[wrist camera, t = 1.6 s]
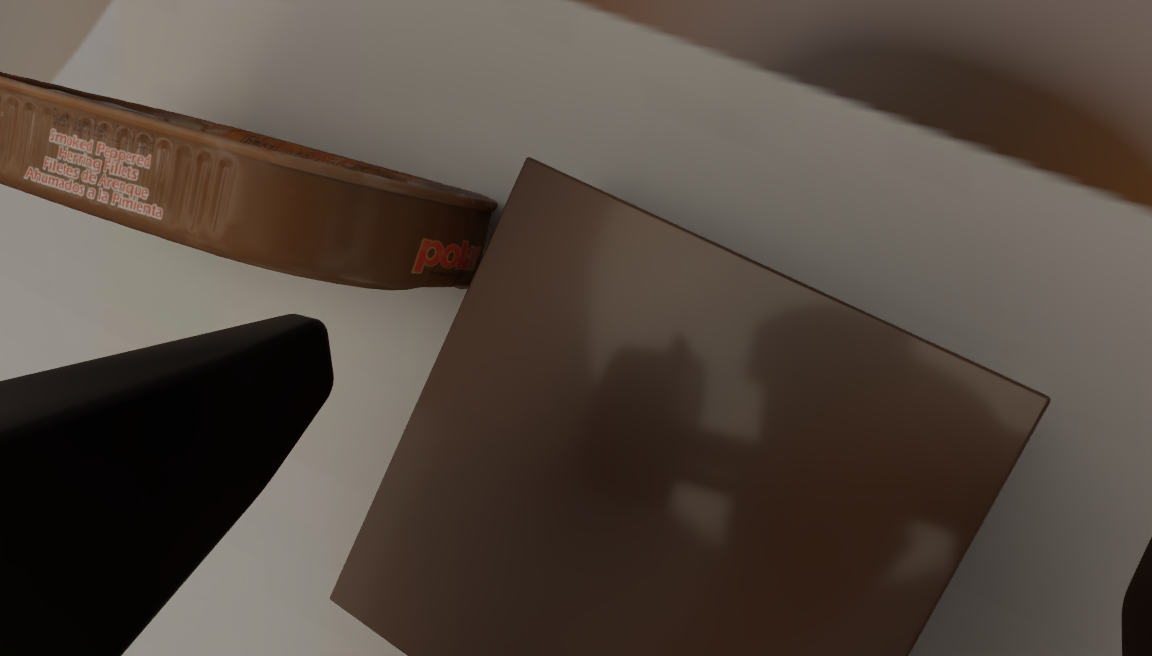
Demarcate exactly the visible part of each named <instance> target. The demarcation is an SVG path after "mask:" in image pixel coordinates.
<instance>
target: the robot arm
mask: <svg viewBox="0 0 1152 656" xmlns="http://www.w3.org/2000/svg"><path fill="white" fill-rule="evenodd" d="M333 379H334V377H333V368H332V361H331V353H330V346H329V339H328V332H327V329H326V327H325V325H324V324H323V323H322V322H321V321H320V320H318V319H314V318H309V317H305V316H301V315H297V314H288V315H283V316H279V317H275V318H270V319H266V320H262V321H258V322H253V323H249V324H245V325H240V326H236V327H232V328H227V329H223V330H219V331H215V332H210V333H206V334H202V335H197V336H193V337H189V338H184V339H180V340H176V341H171V342H167V343H163V344H159V345H154V346H150V347H146V348H141V349H137V350H133V351H128V352H124V353H120V354H116V355H111V356H107V357H103V358H98V359H94V360H90V361H85V362H81V363H77V364H72V365H68V366H64V367H60V368H55V369H51V370H47V371H42V372H38V373H34V374H29V375H25V376H21V377H17V378H12V379H8V380H4V381H0V656H121V655H122V654H123V653H124V652H125V651H126V649H127V648H128V647H129V646H130V645H131V644H132V642H133V641H134V640H135V639H136V638H137V637H138V635H139V634H140V633H141V632H142V631H143V630H144V629H145V627H146V626H147V625H148V624H149V623H150V622H151V620H152V619H153V618H154V617H155V616H156V615H157V613H158V612H159V611H160V610H161V609H162V608H163V606H164V605H165V604H166V603H167V602H168V601H169V599H170V598H171V597H172V596H173V595H174V594H175V592H176V591H177V590H178V589H179V588H180V587H181V585H182V584H183V583H184V582H185V581H186V580H187V578H188V577H189V576H190V575H191V574H192V573H193V571H194V570H195V569H196V568H197V567H198V566H199V564H200V563H201V562H202V561H203V560H204V559H205V557H206V556H207V555H208V554H209V553H210V552H211V550H212V549H213V548H214V547H215V546H216V545H217V543H218V542H219V541H220V540H221V539H222V538H223V537H224V535H225V534H226V533H227V532H228V531H229V530H230V528H231V527H232V526H233V525H234V524H235V523H236V521H237V520H238V519H239V518H240V517H241V516H242V514H243V513H244V512H245V511H246V510H247V509H248V507H249V506H250V505H251V504H252V503H253V501H254V500H255V499H256V498H257V497H258V495H259V494H260V493H261V492H262V490H263V489H264V488H265V487H266V485H267V484H268V482H269V481H270V480H271V478H272V477H273V476H274V474H275V473H276V472H277V470H278V469H279V467H280V466H281V464H282V463H283V462H284V460H285V459H286V457H287V456H288V454H289V453H290V451H291V450H292V449H293V447H294V446H295V444H296V443H297V441H298V440H299V439H300V437H301V436H302V434H303V433H304V431H305V430H306V429H307V427H308V426H309V424H310V423H311V421H312V420H313V418H314V417H315V416H316V414H317V413H318V411H319V410H320V408H321V407H322V406H323V404H324V403H325V401H326V400H327V398H328V397H329V395H330V392H331V390H332V386H333ZM1122 656H1152V538H1151V539H1150V541H1149V544H1148V546H1147V548H1146V550H1145V552H1144V554H1143V556H1142V558H1141V561H1140V563H1139V565H1138V567H1137V569H1136V571H1135V573H1134V576H1133V578H1132V580H1131V582H1130V584H1129V586H1128V589H1127V591H1126V594H1125V597H1124V602H1123V607H1122Z"/></svg>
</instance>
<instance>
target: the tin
mask: <svg viewBox="0 0 1152 656" xmlns="http://www.w3.org/2000/svg"><path fill="white" fill-rule="evenodd" d="M0 184H3V185H6V186H9V187H12V188H15V189H18V190H21V191H23V192H26V193H29V194H32V195H35V196H38V197H41V198H43V199H46V200H49V201H52V202H54V203H58V204H61V205H64V206H67V207H69V208H72V209H75V210H78V211H81V212H84V213H87V214H90V215H93V216H96V217H99V218H102V219H105V220H109V221H112V222H115V223H118V224H120V225H123V226H126V227H129V228H132V229H135V230H139V231H142V232H145V233H148V234H152V235H155V236H158V237H161V238H163V239H166V240H169V241H173V242H176V243H179V244H183V245H186V246H189V247H192V248H195V249H199V250H202V251H205V252H208V253H211V254H214V255H217V256H220V257H224V258H228V259H231V260H235V261H238V262H242V263H246V264H249V265H253V266H257V267H261V268H265V269H269V270H273V271H277V272H282V273H286V274H290V275H294V276H299V277H304V278H310V279H315V280H320V281H325V282H331V283H336V284H342V285H349V286H356V287H362V288H371V289H382V290H408V289H413V288H418V287H455V288H459V289H467V288H469V285H470V283H471V281H472V279H473V276H474V274H475V272H476V270H477V267H478V265H479V263H480V259H481V255H482V251H483V247H484V243H485V239H486V235H487V230H488V226H489V222H490V218H491V215H492V212H493V211H495V210H496V209H497V207H498V203H497V202H496V201H494V200H492V199H490V198H488V197H486V196H483V195H481V194H478V193H475V192H471V191H467V190H463V189H460V188H457V187H453V186H447V185H443V184H441V183H437V182H433V181H430V180H427V179H424V178H420V177H416V176H412V175H409V174H405V173H401V172H398V171H394V170H390V169H387V168H383V167H379V166H375V165H371V164H368V163H364V162H360V161H356V160H353V159H349V158H346V157H342V156H338V155H334V154H330V153H327V152H323V151H320V150H316V149H312V148H308V147H305V146H301V145H298V144H294V143H290V142H287V141H283V140H279V139H276V138H272V137H268V136H264V135H260V134H256V133H253V132H249V131H245V130H241V129H238V128H234V127H229V126H225V125H221V124H216V123H213V122H209V121H206V120H202V119H198V118H194V117H190V116H186V115H182V114H178V113H174V112H169V111H165V110H161V109H156V108H152V107H148V106H144V105H140V104H136V103H130V102H126V101H122V100H118V99H114V98H110V97H105V96H100V95H95V94H91V93H86V92H82V91H78V90H74V89H71V88H67V87H63V86H59V85H55V84H50V83H45V82H40V81H37V80H33V79H29V78H24V77H19V76H15V75H10V74H6V73H2V72H0Z"/></svg>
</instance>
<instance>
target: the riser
mask: <svg viewBox="0 0 1152 656" xmlns="http://www.w3.org/2000/svg"><path fill="white" fill-rule="evenodd" d="M1049 403H1050V398H1049V397H1048V396H1046V395H1044V394H1042V393H1040V392H1038V391H1036V390H1033V389H1031V388H1029V387H1027V386H1025V385H1023V384H1020V383H1018V382H1016V381H1014V380H1012V379H1010V378H1007V377H1005V376H1003V375H1001V374H999V373H997V372H994V371H992V370H990V369H988V368H986V367H984V366H981V365H979V364H977V363H975V362H973V361H971V360H968V359H966V358H964V357H962V356H960V355H958V354H955V353H953V352H951V351H949V350H947V349H945V348H942V347H940V346H938V345H936V344H934V343H931V342H929V341H927V340H925V339H923V338H921V337H918V336H916V335H914V334H912V333H910V332H908V331H905V330H903V329H901V328H899V327H897V326H895V325H892V324H890V323H888V322H886V321H884V320H882V319H879V318H877V317H875V316H873V315H871V314H869V313H866V312H864V311H862V310H860V309H858V308H856V307H853V306H851V305H849V304H847V303H845V302H843V301H840V300H838V299H836V298H834V297H832V296H830V295H827V294H825V293H823V292H821V291H819V290H816V289H814V288H812V287H810V286H808V285H806V284H803V283H801V282H799V281H797V280H795V279H793V278H790V277H788V276H786V275H784V274H782V273H780V272H777V271H775V270H773V269H771V268H769V267H767V266H764V265H762V264H760V263H758V262H756V261H754V260H751V259H749V258H747V257H745V256H743V255H741V254H738V253H736V252H734V251H732V250H730V249H728V248H725V247H723V246H721V245H719V244H717V243H715V242H712V241H710V240H708V239H706V238H704V237H701V236H699V235H697V234H695V233H693V232H691V231H688V230H686V229H684V228H682V227H680V226H678V225H675V224H673V223H671V222H669V221H667V220H665V219H662V218H660V217H658V216H656V215H654V214H652V213H649V212H647V211H645V210H643V209H641V208H639V207H636V206H634V205H632V204H630V203H628V202H626V201H623V200H621V199H619V198H617V197H615V196H613V195H610V194H608V193H606V192H604V191H602V190H600V189H597V188H595V187H593V186H591V185H589V184H587V183H584V182H582V181H580V180H578V179H576V178H573V177H571V176H569V175H567V174H565V173H563V172H560V171H558V170H556V169H554V168H552V167H550V166H547V165H545V164H543V163H541V162H539V161H537V160H534V159H532V158H530V157H528V158H526V160H525V162H524V165H523V167H522V169H521V171H520V174H519V176H518V178H517V180H516V182H515V185H514V187H513V189H512V191H511V194H510V196H509V198H508V200H507V203H506V205H505V207H504V209H503V212H502V214H501V216H500V218H499V221H498V223H497V225H496V227H495V229H494V232H493V234H492V236H491V238H490V241H489V243H488V245H487V247H486V250H485V252H484V254H483V256H482V259H481V261H480V263H479V265H478V267H477V270H476V272H475V274H474V276H473V279H472V281H471V283H470V285H469V288H468V290H467V292H466V294H465V297H464V299H463V301H462V303H461V305H460V308H459V310H458V312H457V314H456V317H455V319H454V321H453V323H452V326H451V328H450V330H449V332H448V335H447V337H446V339H445V341H444V344H443V346H442V348H441V350H440V352H439V355H438V357H437V359H436V361H435V364H434V366H433V368H432V370H431V373H430V375H429V377H428V379H427V382H426V384H425V386H424V388H423V390H422V393H421V395H420V397H419V399H418V402H417V404H416V406H415V408H414V411H413V413H412V415H411V417H410V420H409V422H408V424H407V426H406V429H405V431H404V433H403V435H402V437H401V440H400V442H399V444H398V446H397V449H396V451H395V453H394V455H393V458H392V460H391V462H390V464H389V467H388V469H387V471H386V473H385V475H384V478H383V480H382V482H381V484H380V487H379V489H378V491H377V493H376V496H375V498H374V500H373V502H372V505H371V507H370V509H369V511H368V513H367V516H366V518H365V520H364V522H363V525H362V527H361V529H360V531H359V534H358V536H357V538H356V540H355V543H354V545H353V547H352V549H351V552H350V554H349V556H348V558H347V560H346V563H345V565H344V567H343V569H342V572H341V574H340V576H339V578H338V581H337V583H336V585H335V587H334V590H333V592H332V594H331V596H330V599H331V600H332V601H333V602H334V603H336V604H337V605H339V606H340V607H341V608H343V609H344V610H345V611H347V612H348V613H350V614H351V615H352V616H354V617H355V618H357V619H358V620H359V621H361V622H362V623H363V624H365V625H366V626H368V627H369V628H370V629H372V630H373V631H374V632H376V633H377V634H379V635H380V636H381V637H383V638H384V639H386V640H387V641H388V642H390V643H391V644H392V645H394V646H395V647H397V648H398V649H399V650H401V651H402V652H403V653H405V654H406V655H408V656H908V655H909V654H910V652H911V650H912V648H913V646H914V645H915V643H916V641H917V639H918V637H919V636H920V634H921V632H922V630H923V628H924V627H925V625H926V623H927V621H928V620H929V618H930V616H931V614H932V612H933V611H934V609H935V607H936V605H937V603H938V602H939V600H940V598H941V596H942V594H943V593H944V591H945V589H946V587H947V586H948V584H949V582H950V580H951V578H952V577H953V575H954V573H955V571H956V569H957V568H958V566H959V564H960V562H961V561H962V559H963V557H964V555H965V553H966V552H967V550H968V548H969V546H970V544H971V543H972V541H973V539H974V537H975V535H976V534H977V532H978V530H979V528H980V527H981V525H982V523H983V521H984V519H985V518H986V516H987V514H988V512H989V510H990V509H991V507H992V505H993V503H994V501H995V500H996V498H997V496H998V494H999V493H1000V491H1001V489H1002V487H1003V485H1004V484H1005V482H1006V480H1007V478H1008V476H1009V475H1010V473H1011V471H1012V469H1013V468H1014V466H1015V464H1016V462H1017V460H1018V459H1019V457H1020V455H1021V453H1022V451H1023V450H1024V448H1025V446H1026V444H1027V442H1028V441H1029V439H1030V437H1031V435H1032V434H1033V432H1034V430H1035V428H1036V426H1037V425H1038V423H1039V421H1040V419H1041V417H1042V416H1043V414H1044V412H1045V410H1046V408H1047V407H1048V405H1049Z"/></svg>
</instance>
